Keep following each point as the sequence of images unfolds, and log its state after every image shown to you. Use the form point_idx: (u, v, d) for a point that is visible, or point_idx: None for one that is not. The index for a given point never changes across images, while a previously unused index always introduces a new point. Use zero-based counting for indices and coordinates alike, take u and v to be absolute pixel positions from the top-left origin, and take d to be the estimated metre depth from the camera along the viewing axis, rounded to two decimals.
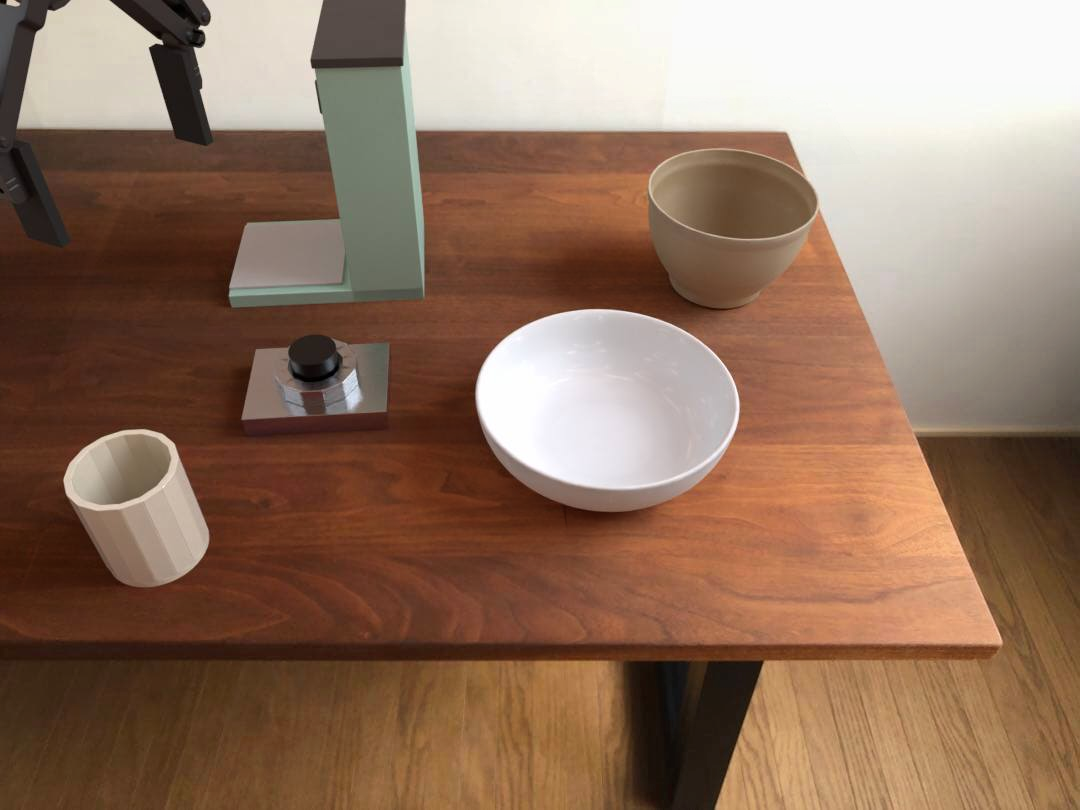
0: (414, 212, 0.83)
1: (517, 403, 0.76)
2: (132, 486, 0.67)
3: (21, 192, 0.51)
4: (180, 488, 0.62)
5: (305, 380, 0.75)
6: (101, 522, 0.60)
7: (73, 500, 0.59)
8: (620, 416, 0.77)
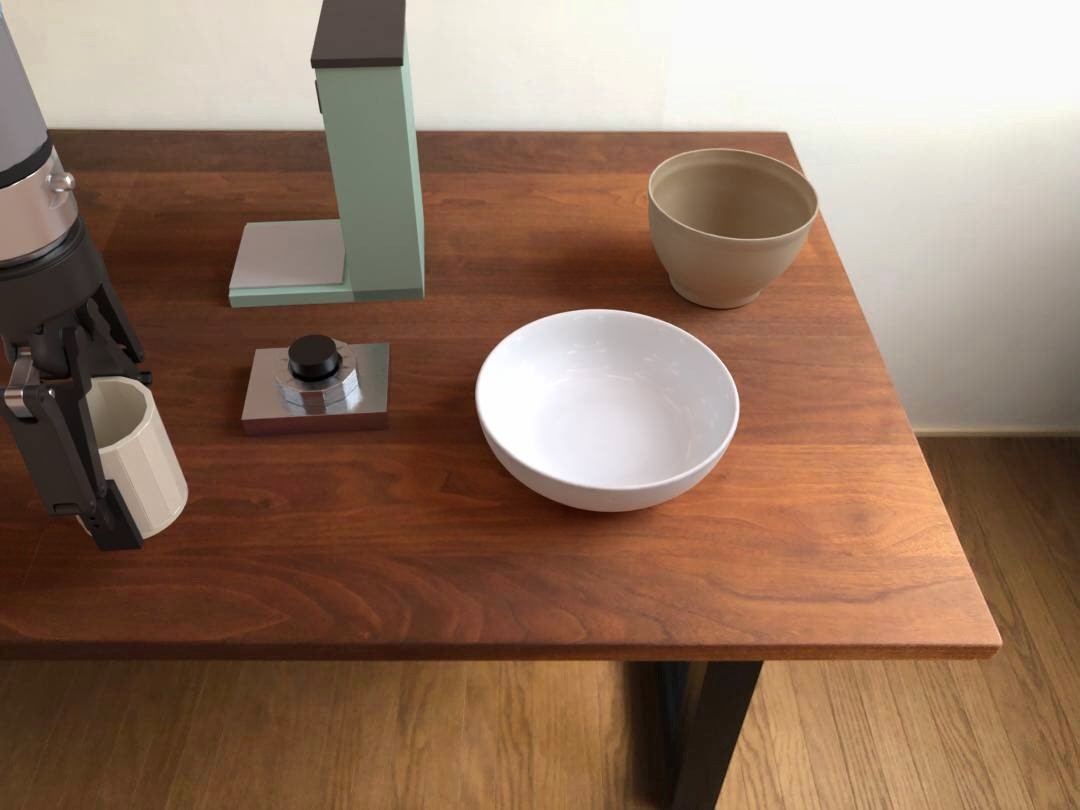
0: (414, 212, 0.83)
1: (517, 403, 0.76)
2: (106, 438, 0.64)
3: (111, 520, 0.58)
4: (156, 438, 0.59)
5: (305, 380, 0.75)
6: None
7: None
8: (620, 416, 0.77)
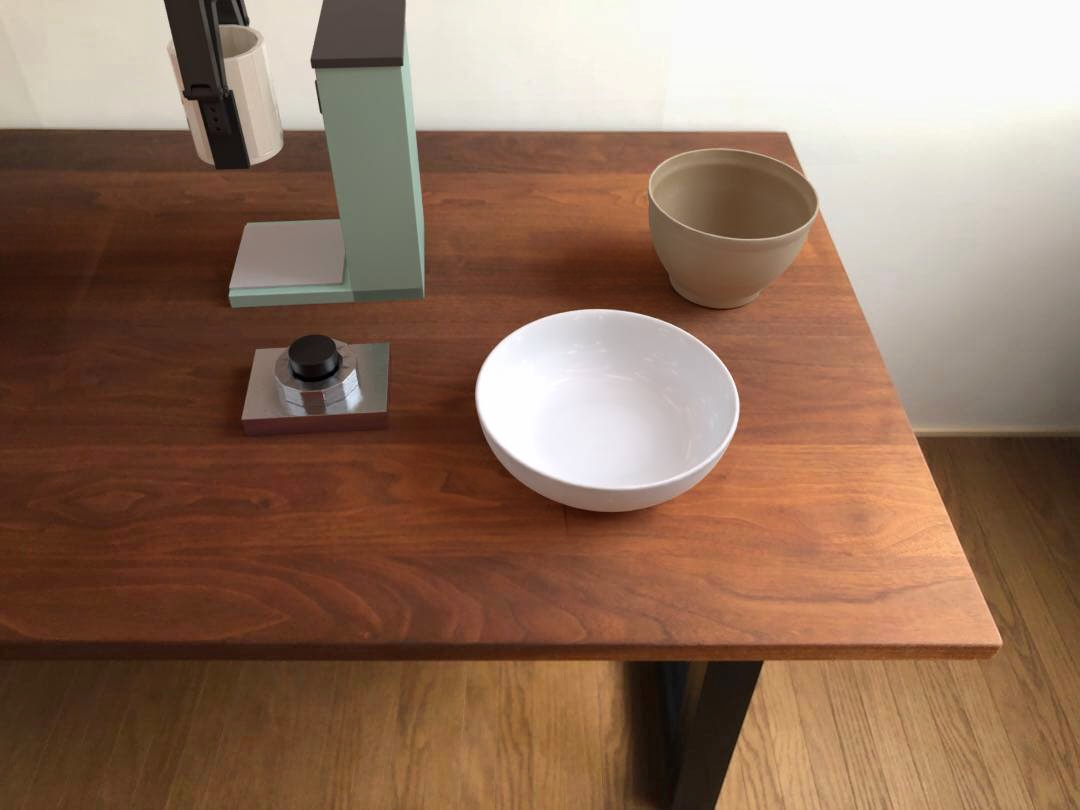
0: (414, 212, 0.83)
1: (517, 403, 0.76)
2: None
3: (229, 128, 0.71)
4: (265, 66, 0.72)
5: (305, 380, 0.75)
6: None
7: None
8: (620, 416, 0.77)
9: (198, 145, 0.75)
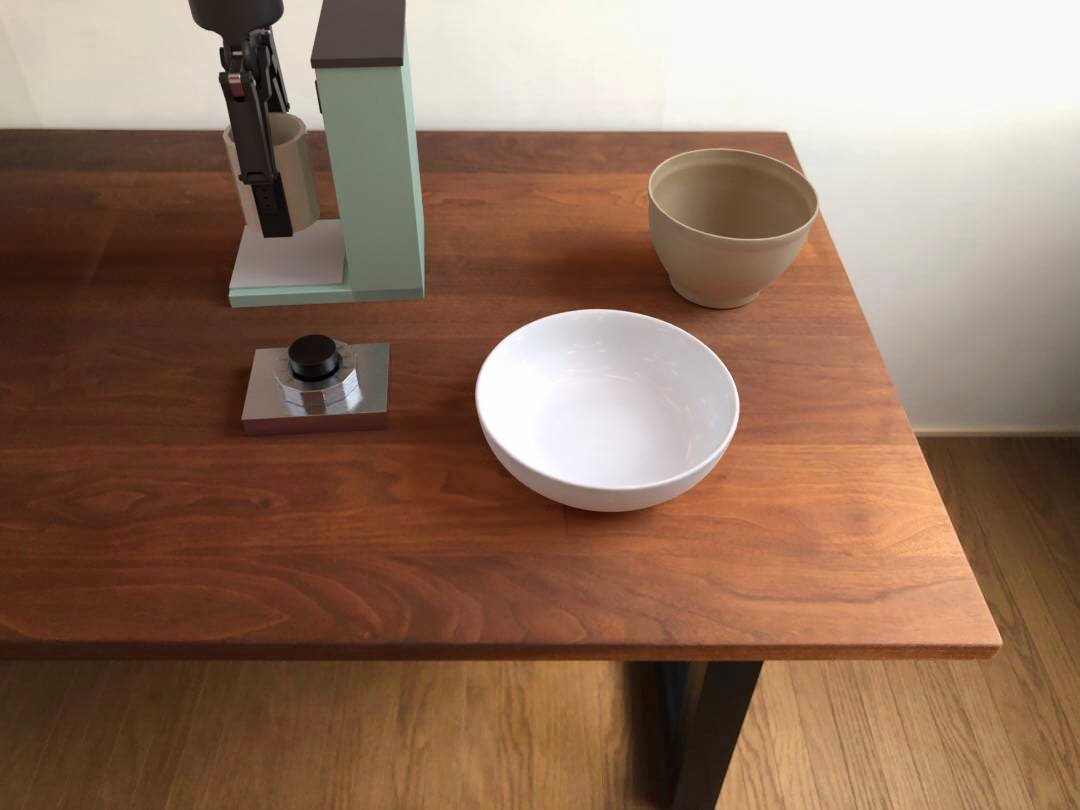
0: (414, 212, 0.83)
1: (517, 403, 0.76)
2: None
3: (277, 204, 0.83)
4: (306, 149, 0.83)
5: (305, 380, 0.75)
6: None
7: (232, 145, 0.81)
8: (620, 416, 0.77)
9: (248, 216, 0.86)
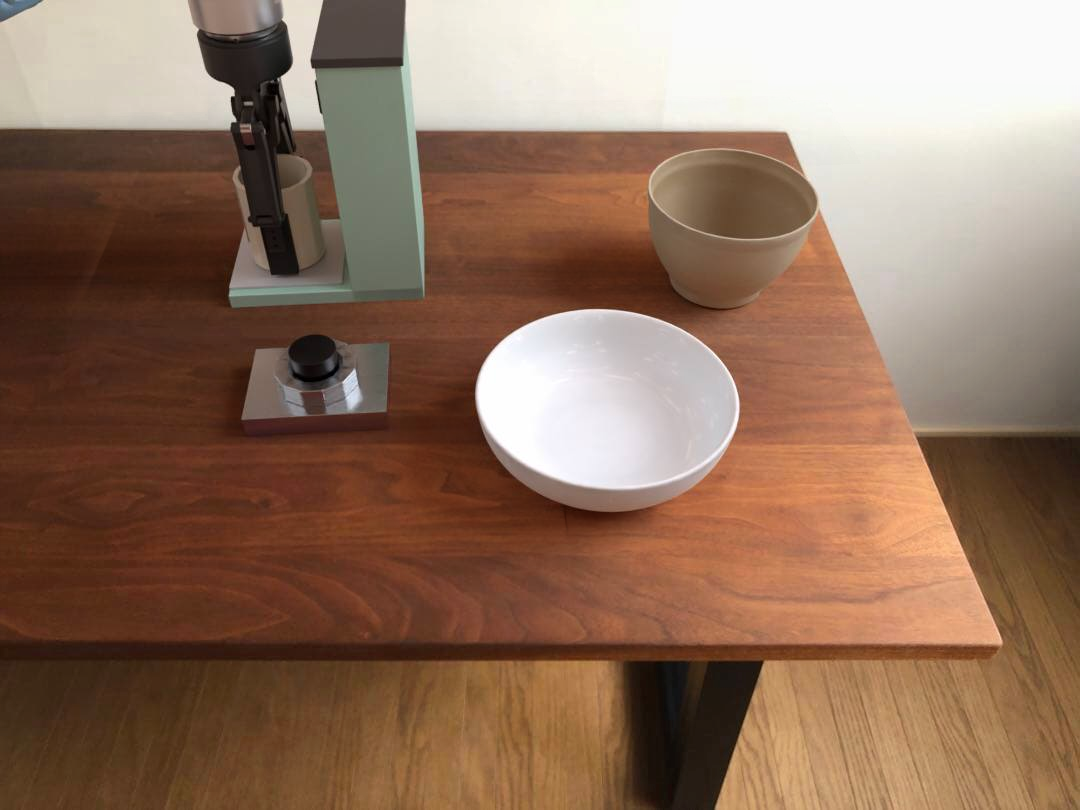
0: (414, 212, 0.83)
1: (517, 403, 0.76)
2: None
3: (284, 244, 0.86)
4: (313, 190, 0.87)
5: (305, 380, 0.75)
6: None
7: (242, 188, 0.84)
8: (620, 416, 0.77)
9: (256, 254, 0.89)
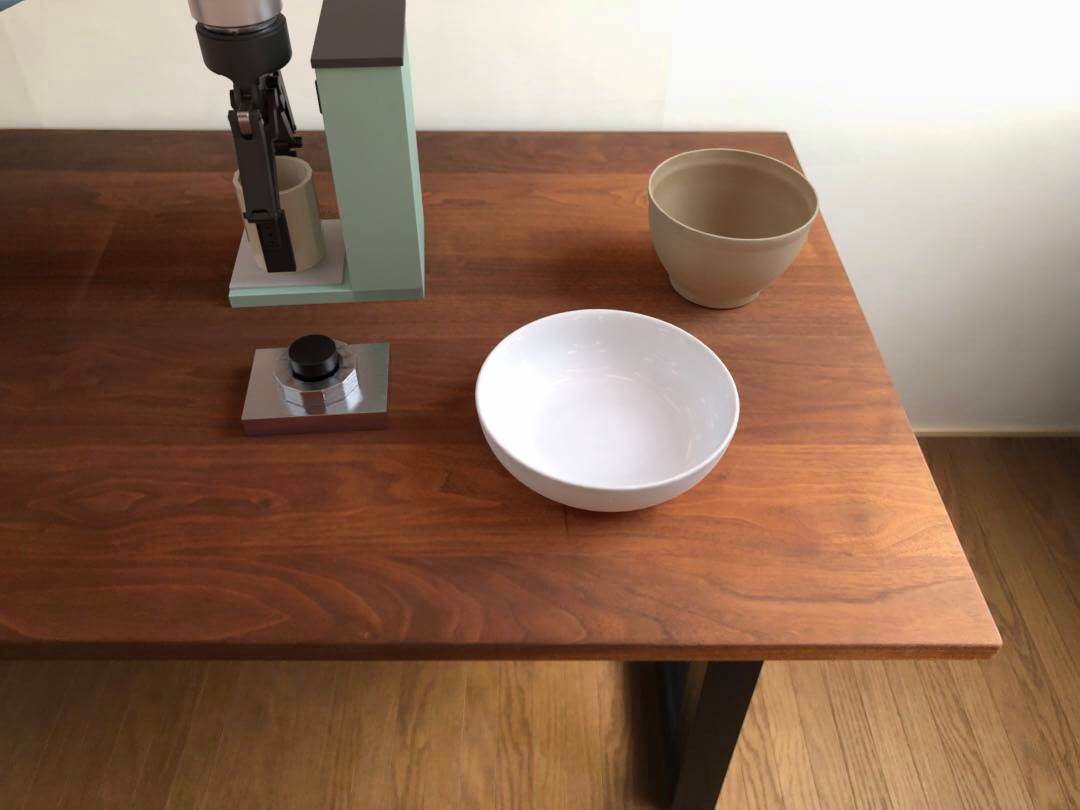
0: (414, 212, 0.83)
1: (517, 403, 0.76)
2: None
3: (280, 240, 0.84)
4: (313, 192, 0.87)
5: (305, 380, 0.75)
6: None
7: None
8: (620, 416, 0.77)
9: (256, 256, 0.89)
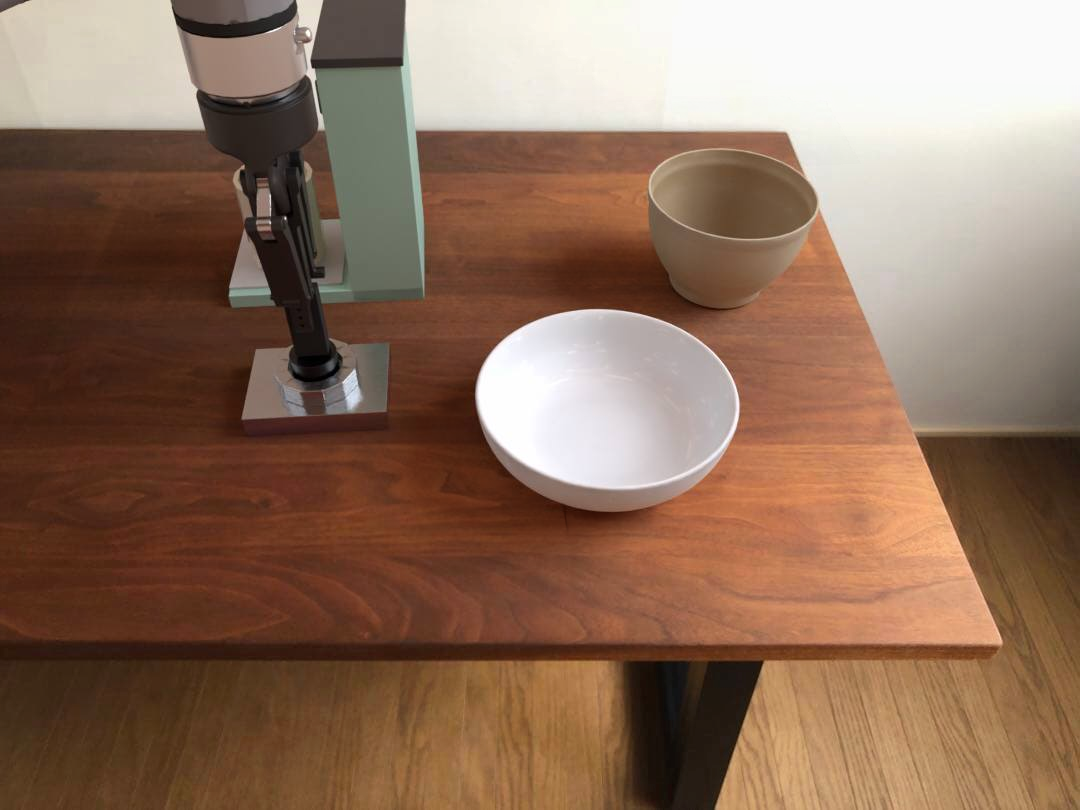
0: (414, 212, 0.83)
1: (517, 403, 0.76)
2: None
3: (312, 323, 0.72)
4: (313, 192, 0.87)
5: None
6: None
7: (242, 190, 0.84)
8: (620, 416, 0.77)
9: (256, 256, 0.89)
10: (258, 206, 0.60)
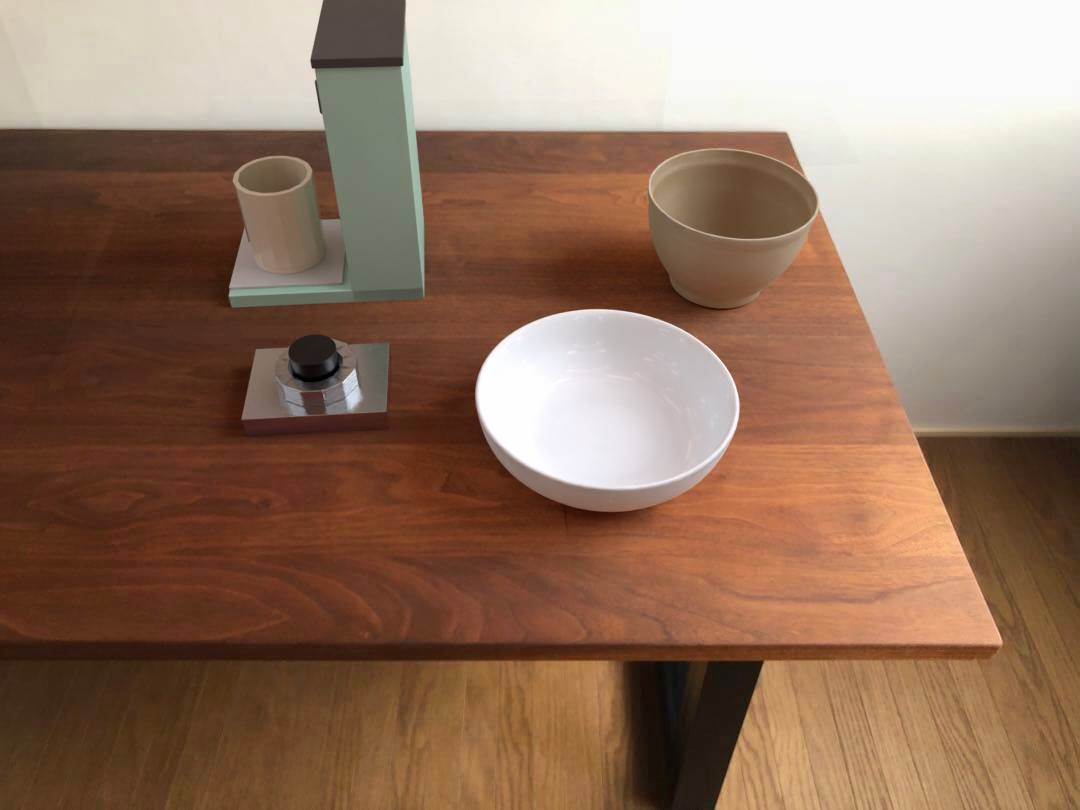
0: (414, 212, 0.83)
1: (517, 403, 0.76)
2: None
3: None
4: (313, 192, 0.87)
5: (305, 380, 0.75)
6: (261, 208, 0.84)
7: (242, 190, 0.84)
8: (620, 416, 0.77)
9: (256, 256, 0.89)
10: None
